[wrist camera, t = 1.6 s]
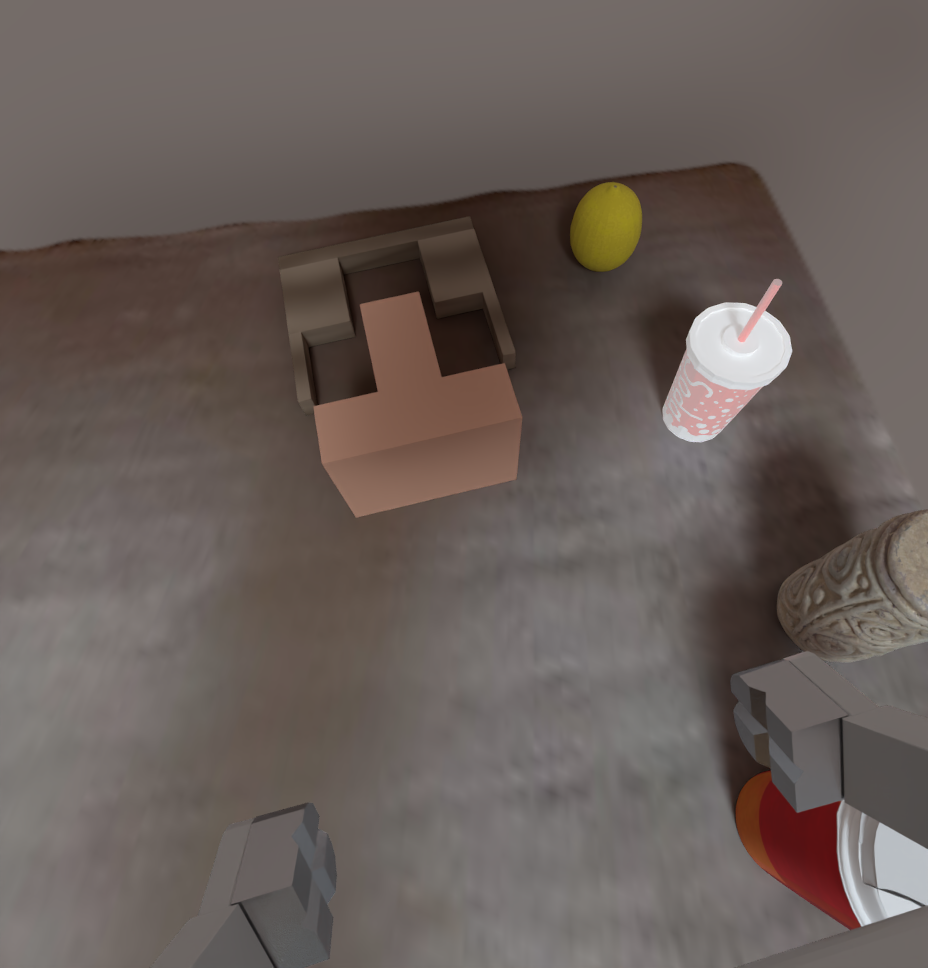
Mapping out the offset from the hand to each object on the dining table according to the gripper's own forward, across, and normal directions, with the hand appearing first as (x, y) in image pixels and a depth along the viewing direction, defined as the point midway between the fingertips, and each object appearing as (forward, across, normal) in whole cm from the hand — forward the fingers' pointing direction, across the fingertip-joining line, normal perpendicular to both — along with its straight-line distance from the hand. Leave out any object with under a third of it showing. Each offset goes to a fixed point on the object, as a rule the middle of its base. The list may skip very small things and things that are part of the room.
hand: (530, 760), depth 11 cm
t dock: (+42, 0, -6) cm, 42 cm away
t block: (+34, +1, +2) cm, 35 cm away
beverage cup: (+32, -20, +6) cm, 38 cm away
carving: (+21, -21, +17) cm, 35 cm away
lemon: (+43, -18, -6) cm, 47 cm away
